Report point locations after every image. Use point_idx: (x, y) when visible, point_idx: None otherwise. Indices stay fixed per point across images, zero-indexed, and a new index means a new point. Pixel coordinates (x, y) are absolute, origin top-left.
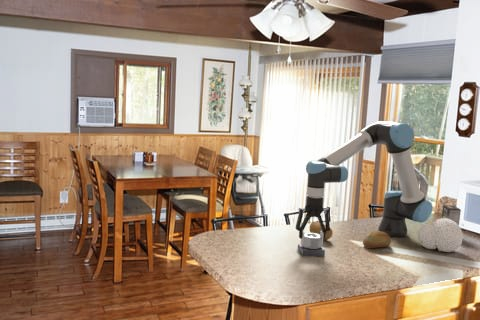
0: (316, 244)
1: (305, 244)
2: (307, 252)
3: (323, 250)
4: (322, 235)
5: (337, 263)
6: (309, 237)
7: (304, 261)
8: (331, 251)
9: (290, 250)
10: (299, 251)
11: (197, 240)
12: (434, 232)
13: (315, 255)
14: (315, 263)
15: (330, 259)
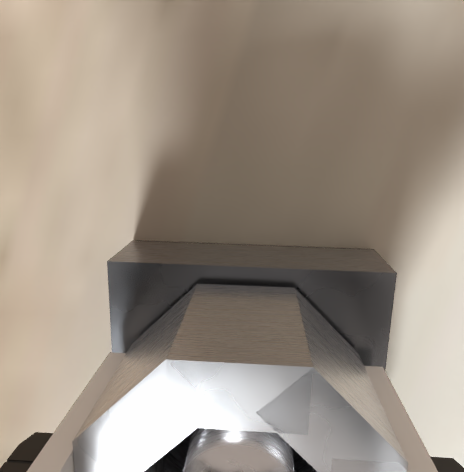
0: (208, 308)
1: (352, 361)
2: (328, 260)
3: (126, 262)
4: (50, 463)
5: (42, 25)
6: (332, 400)
7: (410, 91)
8: (20, 386)
9: (434, 428)
10: None
11: None
12: None
13: (229, 247)
14: (301, 22)
15: (89, 157)
